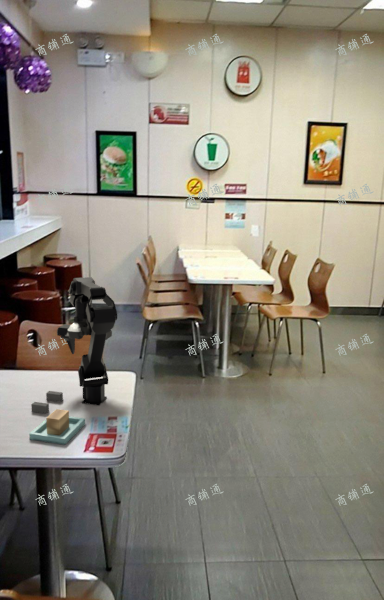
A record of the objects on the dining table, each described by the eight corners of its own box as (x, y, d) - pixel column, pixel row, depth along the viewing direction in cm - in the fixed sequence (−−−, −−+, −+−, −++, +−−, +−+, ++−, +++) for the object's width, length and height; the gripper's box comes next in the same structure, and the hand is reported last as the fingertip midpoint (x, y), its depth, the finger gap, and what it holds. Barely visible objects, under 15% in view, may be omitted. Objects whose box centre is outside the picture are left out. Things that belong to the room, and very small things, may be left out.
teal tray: (85, 423, 150) (85, 418, 149) (64, 444, 137) (64, 438, 137) (52, 419, 152) (52, 413, 152) (29, 439, 140) (29, 433, 139)
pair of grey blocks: (62, 399, 166) (62, 392, 166) (45, 413, 156) (45, 406, 155) (49, 397, 167) (49, 390, 167) (31, 411, 157) (31, 404, 156)
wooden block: (69, 426, 147) (68, 410, 146) (59, 435, 141) (58, 419, 140) (57, 424, 148) (56, 409, 147) (46, 433, 142) (46, 417, 141)
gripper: (48, 316, 166) (49, 359, 169) (99, 320, 162) (99, 365, 165) (63, 308, 176) (65, 349, 180) (112, 313, 172) (112, 355, 176)
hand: (84, 355), depth 175 cm, fingers open, 9 cm apart
